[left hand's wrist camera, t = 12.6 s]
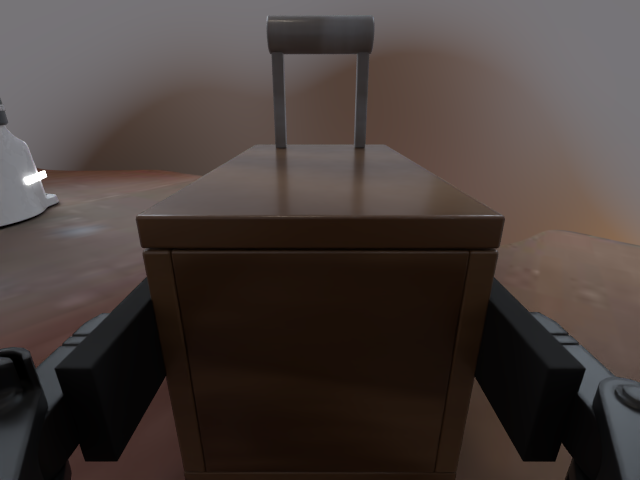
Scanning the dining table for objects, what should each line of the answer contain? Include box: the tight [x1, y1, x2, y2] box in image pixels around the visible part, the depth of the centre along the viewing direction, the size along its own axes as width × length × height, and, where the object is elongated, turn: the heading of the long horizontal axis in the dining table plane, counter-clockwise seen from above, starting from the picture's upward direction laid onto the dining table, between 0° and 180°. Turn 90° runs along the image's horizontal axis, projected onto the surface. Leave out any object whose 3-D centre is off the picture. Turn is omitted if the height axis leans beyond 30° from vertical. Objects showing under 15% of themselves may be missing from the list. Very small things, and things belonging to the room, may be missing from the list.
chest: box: [143, 248, 498, 480], centre depth 19 cm, size 18×10×9 cm, turn 0°
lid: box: [136, 16, 505, 248], centre depth 16 cm, size 18×10×9 cm, turn 0°
